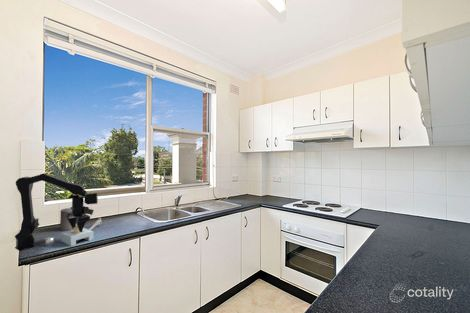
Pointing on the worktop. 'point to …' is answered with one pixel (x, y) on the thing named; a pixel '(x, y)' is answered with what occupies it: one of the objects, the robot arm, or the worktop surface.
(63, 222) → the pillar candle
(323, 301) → the worktop surface
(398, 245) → the worktop surface
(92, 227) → the caliper
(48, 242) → the aluminium pin
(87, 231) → the bridge jig
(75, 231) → the maple pin
